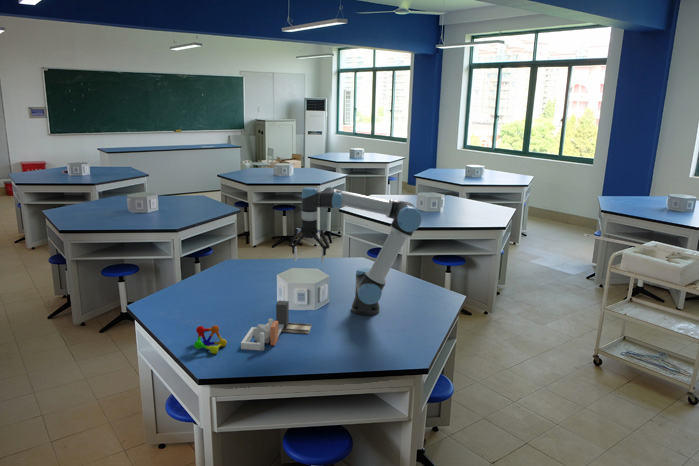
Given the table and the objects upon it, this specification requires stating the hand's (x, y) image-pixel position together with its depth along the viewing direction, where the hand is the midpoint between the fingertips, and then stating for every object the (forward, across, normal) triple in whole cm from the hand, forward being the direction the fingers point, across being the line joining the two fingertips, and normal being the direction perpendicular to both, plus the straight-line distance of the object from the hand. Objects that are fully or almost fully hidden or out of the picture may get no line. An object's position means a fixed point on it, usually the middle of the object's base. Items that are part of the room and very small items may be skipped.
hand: (309, 260), depth 257 cm
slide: (+32, +8, +12) cm, 35 cm away
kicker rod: (+31, +11, +20) cm, 39 cm away
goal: (+32, +19, +28) cm, 46 cm away
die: (+32, +16, +28) cm, 45 cm away
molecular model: (+32, +38, +38) cm, 63 cm away
